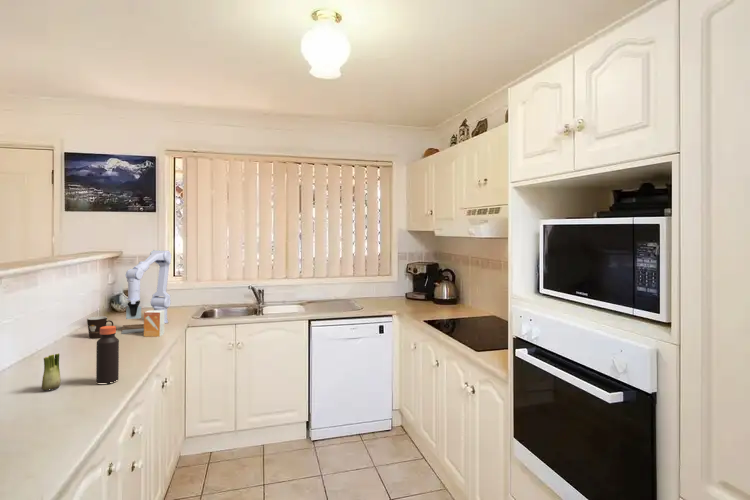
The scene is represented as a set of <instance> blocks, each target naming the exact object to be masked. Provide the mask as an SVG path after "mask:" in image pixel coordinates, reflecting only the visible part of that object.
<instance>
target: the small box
mask: <svg viewBox="0 0 750 500" xmlns="http://www.w3.org/2000/svg"><path fill="white" fill-rule="evenodd" d="M143 324H144V332H143V337H146V338H147V337H149V338H150V337H151V338H152V337H155V338H157V337H158V338H159V337H162V336H163V335H164V334H165V323H164V310H154V309H153V310H151V309H150V310H146V311H145V312H143Z"/></svg>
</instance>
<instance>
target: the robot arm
mask: <svg viewBox="0 0 750 500" xmlns="http://www.w3.org/2000/svg"><path fill="white" fill-rule="evenodd" d="M171 262H172V253H171V252H170V251H169V250H155V249H153V250H151V252H150V253H149V256H148V257H147V258H146V259H145V260H144V261H143V260H141V261H139V262H138V263H137V264H136V265H135V266H133V268H129V269H128V270H126V271H125V272H126V273H125V277H126V282H127V298H125V301H128V302H127V307H129V308H130V312H131V316H136V313H137V308H138V307H140V303H141V279H143V276H144V274H145V272H146V271H148V270H149V269H150V265H152V264H153V263H155V264H157V265H158V266H159V267H158V268H159V270H158V277H157V287H156V292H154V293H153V294H152V297H151V299H150V306H151V307H152V309H153V310H164V324H168V323H169V320H168V308H169V307H170V305H171V303H172V301H171V300H172V299H171V295H170V294H169V293H168V292H167V289H168V288H167V287H168V281H169V273H170V272H169V270H170V264H171Z"/></svg>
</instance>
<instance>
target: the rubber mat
mask: <svg viewBox="0 0 750 500" xmlns="http://www.w3.org/2000/svg"><path fill="white" fill-rule="evenodd" d="M140 333H144V328H143V329H129V330H122V329H121V335H125V334H126V335H127V334H128V335H129V334H140Z"/></svg>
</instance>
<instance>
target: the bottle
mask: <svg viewBox="0 0 750 500" xmlns="http://www.w3.org/2000/svg"><path fill="white" fill-rule="evenodd" d="M116 333H117V327H116V325H113V326H112V325H106V326H104V327H101V328H100V336H101V338H98V340H97V341H96V356H95V357H96V362H95V363H96V364H95V365H96V369H95V371H96V373H95V374H96V375H95V376H96V377H95V378H96V382H97V383H110V382H114V381H116V380H118V381H119V377H120V376H119V372H120V371H119V369H120V368H119V367H120V366H119V363H120V361H119V358H120V356H119V355H120V354H119V353H120V352H119V351H120V349H119V348H120V347H119V346H120V340H119V338H118V337H116V336H115V335H116ZM96 382H95V383H96ZM97 383H96V384H97Z"/></svg>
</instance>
